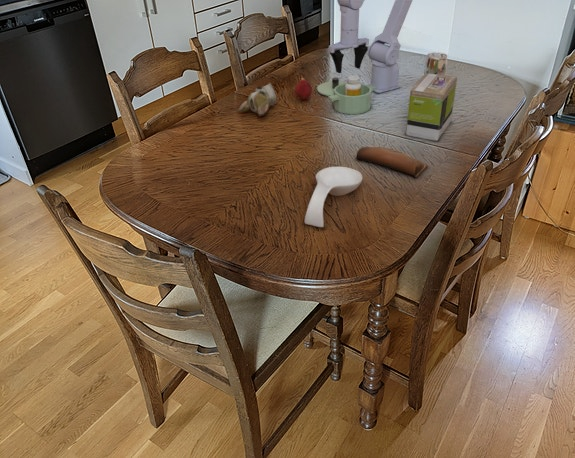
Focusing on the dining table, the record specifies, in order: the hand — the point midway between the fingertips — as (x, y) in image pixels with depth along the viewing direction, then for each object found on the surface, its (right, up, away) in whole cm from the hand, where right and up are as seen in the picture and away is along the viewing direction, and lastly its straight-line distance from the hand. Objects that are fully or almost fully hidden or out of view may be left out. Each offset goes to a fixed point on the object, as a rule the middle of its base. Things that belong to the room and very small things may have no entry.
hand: (348, 70), depth 168 cm
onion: (-15, -8, +7) cm, 19 cm away
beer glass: (+29, -9, +4) cm, 31 cm away
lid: (-3, -3, +13) cm, 13 cm away
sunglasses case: (+8, -36, -30) cm, 48 cm away
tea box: (+23, -23, -14) cm, 36 cm away
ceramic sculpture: (-30, -14, +1) cm, 33 cm away
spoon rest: (-10, -47, -44) cm, 65 cm away
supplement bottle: (+2, -12, +1) cm, 12 cm away
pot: (+2, -12, +1) cm, 12 cm away
